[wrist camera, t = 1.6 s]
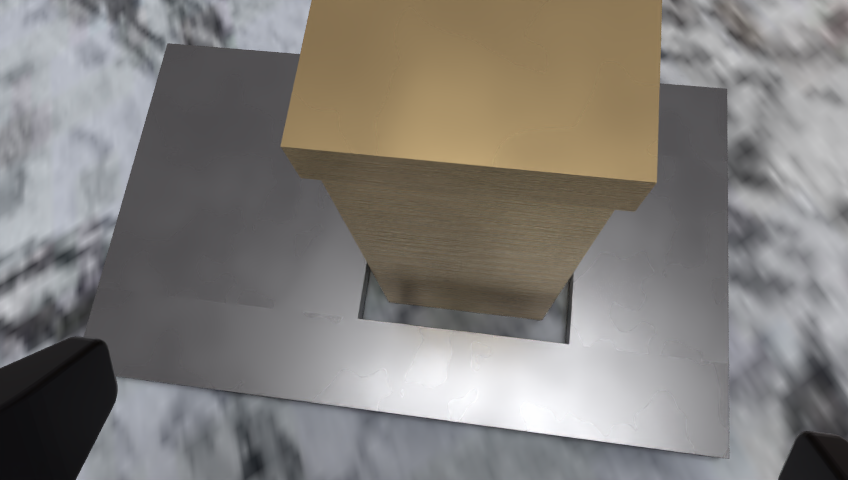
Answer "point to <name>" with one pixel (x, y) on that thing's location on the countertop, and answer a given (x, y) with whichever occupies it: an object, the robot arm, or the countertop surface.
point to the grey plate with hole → (349, 272)
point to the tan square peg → (478, 138)
